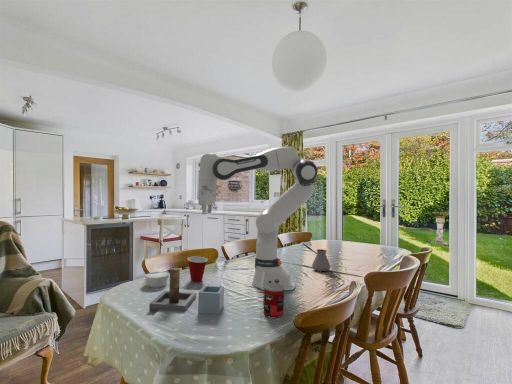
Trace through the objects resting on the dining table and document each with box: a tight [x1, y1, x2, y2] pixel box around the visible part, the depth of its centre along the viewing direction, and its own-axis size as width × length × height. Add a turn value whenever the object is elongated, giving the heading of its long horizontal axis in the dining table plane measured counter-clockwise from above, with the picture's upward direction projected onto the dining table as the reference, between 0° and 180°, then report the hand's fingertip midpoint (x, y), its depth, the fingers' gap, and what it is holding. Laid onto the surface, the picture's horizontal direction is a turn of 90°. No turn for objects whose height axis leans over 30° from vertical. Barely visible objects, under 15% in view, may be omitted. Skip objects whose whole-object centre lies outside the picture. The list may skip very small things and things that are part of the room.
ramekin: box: [144, 271, 169, 288], centre depth 143 cm, size 11×11×5 cm
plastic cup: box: [187, 255, 209, 283], centre depth 152 cm, size 11×11×12 cm
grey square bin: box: [197, 284, 225, 315], centre depth 113 cm, size 8×8×9 cm
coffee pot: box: [301, 243, 331, 272], centre depth 183 cm, size 21×12×15 cm, turn 43°
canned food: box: [263, 284, 285, 318], centre depth 113 cm, size 8×8×11 cm
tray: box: [148, 290, 197, 312], centre depth 119 cm, size 15×15×3 cm
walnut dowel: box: [168, 267, 181, 304], centre depth 119 cm, size 4×4×14 cm
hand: (206, 213), depth 141 cm, fingers open, 8 cm apart
